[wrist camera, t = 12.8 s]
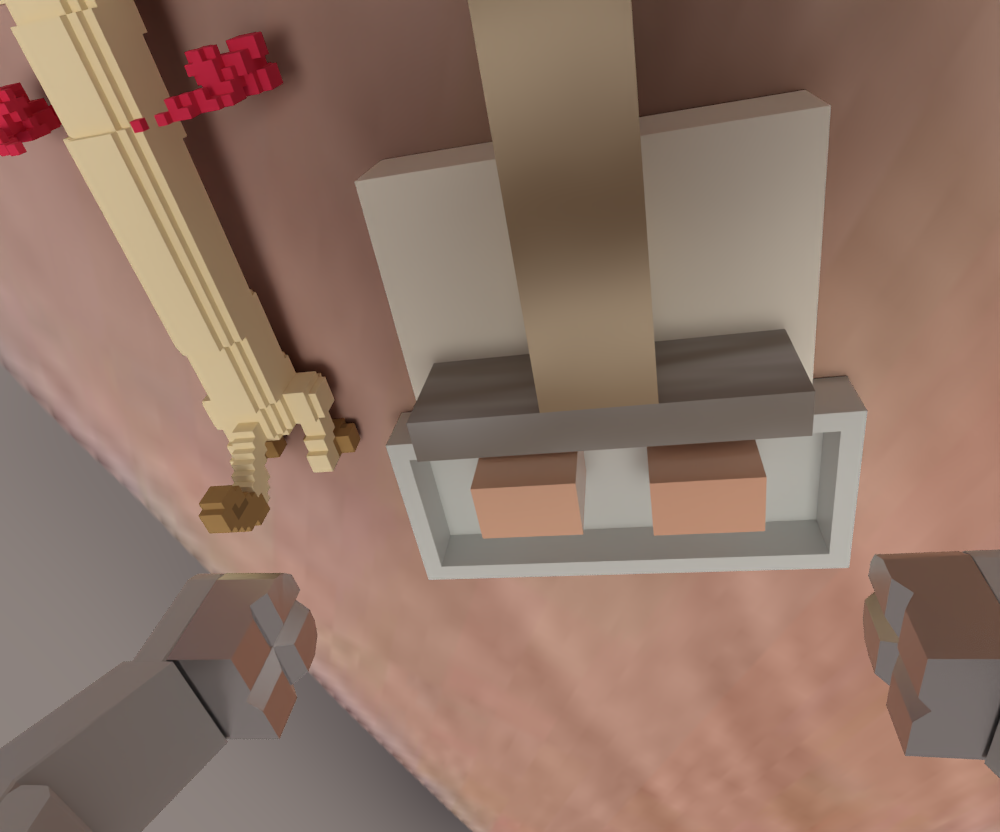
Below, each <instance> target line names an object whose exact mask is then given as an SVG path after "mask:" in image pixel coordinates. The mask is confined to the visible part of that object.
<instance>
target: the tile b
mask: <svg viewBox="0 0 1000 832" xmlns="http://www.w3.org/2000/svg"><path fill="white" fill-rule="evenodd" d="M647 456H648V470H649V483H650V496H651V508H652V520H653V532H654V536H658V535H683V534H708V533H733V532H758V531H765V518H766V484H767V477H766V473H765V470H764V467H763V464H762V460H761V457H760V454H759V450H758V447H757V444H756V441H755V440H741V441H726V442H711V443H696V444H681V445H666V446H651V447H647Z"/></svg>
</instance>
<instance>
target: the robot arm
mask: <svg viewBox="0 0 1000 832" xmlns="http://www.w3.org/2000/svg"><path fill="white" fill-rule="evenodd" d="M868 576H869V579H870V581H871V584H872V586H873V589H874V591H875V592H874V593H873V594H871V595H870V596H869V597H868V598H867V599H865V602H864V612H863V627H864V639H865V643H866V647H867V651H868V655H869V658H870V661H871V664H872V667H873V670H874V673H875V674H876V675H877V676H878V677H880V678H881V679H882V680H883V681H884V682H886V683H887V684H888V685H889V686H890V687H889V693H888V698H887V704H886V706H887V709H888V711H889V714H890V717H891V719H892V722H893V725H894V727H895V730H896V733H897V735H898V738H899V741H900V744H901V746H902V749H903V752H904V754H905V756H922V757H941V758H960V759H980V760H985V763H984V764H986V765H987V766H988V767H989V768H990V769H991V770H992V771H993V772H994V773H995V774H996V775H997V776H998V777H999V778H1000V550H977V551H963V552H960V551H949V552H924V553H899V554H875V555H874V557H873V559H872V560H871V563H870V569H869V575H868ZM299 591H300V589H299V587H298V585H297V583H296V582H295V580H294V578H293V576H292V575H291V574H285V573H226V574H197V575H195V576H194V577H192V578H191V579H189V580H188V581H187V582H186V584H185V585H184V587H183V588H182V589H181V591H180V592H179V594H178V595H177V597H176V598H175V600H174V601H173V603H172V604H171V606H170V607H169V608H168V610H167V611H166V613H165V614H164V616H163V617H162V619H161V620H160V622H159V623H158V624H157V626H156V627H155V629H154V630H153V632H152V633H151V635H150V636H149V638H148V639H147V641H146V642H145V643H144V645H143V646H142V648H141V649H140V651H139V652H138V654H137V656H136V657H135V658H134V660H133V661H126V662H125V661H124V662H122V663H120V664H119V665H118V666H116V667H115V668H114V669H112V670H111V671H109V672H108V673H106V674H105V675H104V676H102V677H101V678H99V679H98V680H96V681H95V682H94V683H92V684H91V685H89V686H88V687H87V688H85V689H84V690H82V691H81V692H79V693H78V694H77V695H75V696H74V697H73V698H71V699H70V700H68V701H67V702H65V703H64V704H63V705H61V706H60V707H58V708H57V709H55V710H54V711H53V712H51V713H50V714H49V715H47V716H45V717H44V718H43V719H41V720H40V721H39V722H37V723H36V724H34V725H33V726H31V727H30V728H28V729H27V730H26V731H24V732H23V733H21V734H20V735H19V736H17V737H16V738H14V739H13V740H12V741H10V742H9V743H7V744H6V745H4V746H3V747H2V748H0V832H142V831H143V829H144V828H145V827H146V826H147V825H148V824H149V823H150V822H151V821H152V820H153V819H154V818H155V817H156V816H157V815H158V814H159V813H160V812H161V811H162V810H163V809H164V808H165V807H166V805H168V804H169V803H170V801H172V799H173V798H174V797H175V796H176V795H177V794H178V793H179V792H180V791H181V790H182V789H183V788H184V787H185V786H186V785H187V784H188V783H189V782H190V781H191V780H192V779H193V778H194V777H195V776H196V775H197V774H198V773H199V772H200V771H201V769H202V768H203V767H204V766H205V765H206V764H207V763H208V762H209V761H210V760H211V759H212V758H213V757H214V756H215V755H216V754H217V753H218V752H219V751H220V750H221V749H222V748H223V747H224V746H225V745H226V744H227V740H226V739H280V736H281V734H282V732H283V729H284V727H285V725H286V723H287V720H288V718H289V716H290V713H291V711H292V709H293V706H294V704H295V702H296V699H297V696H296V692H295V689H294V686H293V684H294V683H296V682H297V681H298V680H299V679H300V678H301V677H303V676H304V675H305V674H306V673H307V672H308V671H309V668H310V666H311V663H312V661H313V658H314V656H315V650H316V642H317V631H316V625H315V620H314V618H313V616H312V614H311V612H310V610H309V609H308V608H306V607H305V606H304V605H302V604H301V603H299V602H298V601H297V600H296V598H297V596H298V593H299Z"/></svg>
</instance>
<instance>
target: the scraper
mask: <svg viewBox="0 0 1000 832" xmlns="http://www.w3.org/2000/svg"><path fill="white" fill-rule="evenodd" d="M468 5H469V11H470V17H471V22H472V28H473V34H474V40H475V45H476V51H477V57H478V62H479V68H480V74H481V80H482V85H483V91H484V97H485V103H486V108H487V114H488V120H489V125H490V131H491V137H492V143H493V148H494V154H495V160H496V165H497V171H498V177H499V183H500V188H501V194H502V200H503V206H504V211H505V217H506V223H507V228H508V234H509V240H510V246H511V251H512V257H513V263H514V268H515V274H516V280H517V286H518V291H519V297H520V303H521V309H522V314H523V320H524V326H525V331H526V337H527V343H528V349H529V354H523V355H513V356H503V357H492V358H482V359H472V360H462V361H451V362H441V363H434V364H433V366H432V368H431V370H430V373H429V375H428V377H427V379H426V381H425V384H424V386H423V388H422V390H421V392H420V395H419V397H418V399H417V401H416V403H415V405H414V408H413V410H412V412H411V414H410V416H409V419H408V421H407V423H406V424H407V428H408V431H409V435H410V438H411V441H412V445H413V448H414V451H415V455H416V458H417V462H425V461H440V460H455V459H470V458H485V457H500V456H515V455H530V454H545V453H560V452H575V451H590V450H605V449H620V448H636V447H651V446H666V445H681V444H696V443H711V442H726V441H741V440H756V439H771V438H786V437H801V436H812V433H813V419H814V405H815V389H814V387H813V385H812V383H811V381H810V379H809V377H808V375H807V373H806V371H805V369H804V367H803V365H802V362H801V360H800V358H799V356H798V354H797V352H796V350H795V348H794V346H793V344H792V342H791V340H790V338H789V336H788V334H787V332H786V330H785V329H779V330H768V331H758V332H748V333H738V334H728V335H717V336H707V337H697V338H687V339H676V340H666V341H656V342H654V328H653V313H652V298H651V284H650V269H649V254H648V240H647V225H646V210H645V196H644V181H643V166H642V152H641V137H640V122H639V108H638V93H637V78H636V64H635V49H634V34H633V20H632V5H631V0H468Z"/></svg>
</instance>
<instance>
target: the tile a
mask: <svg viewBox="0 0 1000 832" xmlns="http://www.w3.org/2000/svg"><path fill="white" fill-rule="evenodd" d="M470 490H471V494H472V498H473V502H474V506H475V510H476V514H477V518H478V522H479V526H480V530H481V533H482V537H483V539H486V538H511V537H535V536H560V535H583V530H584V511H585V491H586V465H585V457H584V451H575V452H560V453H545V454H530V455H515V456H500V457H485V458H479V460H478V463H477V467H476V471H475V474H474V478H473V481H472V485H471V489H470Z"/></svg>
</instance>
